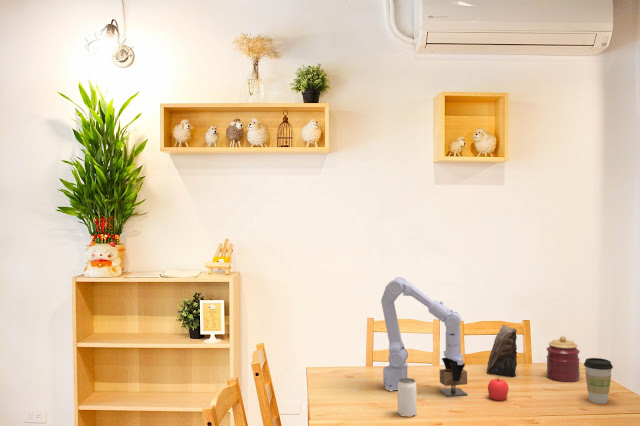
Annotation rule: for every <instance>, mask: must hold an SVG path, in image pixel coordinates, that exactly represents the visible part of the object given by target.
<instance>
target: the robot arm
mask: <svg viewBox="0 0 640 426" xmlns="http://www.w3.org/2000/svg"><path fill="white" fill-rule="evenodd" d="M400 295H402V296H405V297H406V296H409V297H412V298H413V299H414V300H416V301H418V302H419V303H421V304H423V305H424V307H427V308H428V313H430V314H431V315H433V316H434V317H435V318H436V319H437V320H439V321H441V322H443V323H444V326H445V350H444V351H443V357H442V358H441V361H442V362H443V365H444V369H452V373H453V380H454V381H459V380H460V376H461V372H462V370H463V369H464V368H465V366H466V363H464V359H463V357H464V356H465V354H462V352H461V351H462V350H461V349H462V348H461V347H462V345H461V343H462V342H461V341H462V340H461V337H462V336H461V323H462V318H461V315H460V314H459V313H458V312H456V311H454V310H453V309H452V308H451V309H450V308H448V307H447V306H446V305H445V304H444V301H442V300H438V299H437V300H433V299H431V298H430V297H429V296H428V295H426V294H425V293H424V292H423V291H421V290H420V289H419V288H418V287H416V286H415V285H414V284H413V283H411V282H410V281H408V280H406V279H405V278H403V277H401V276H398V277H396V278H394V279H393V280H391V281H390V282H388V283H387V285H385V288H384V291H383V293H382V296H381V299H380V302H381V303H380V304H381V307H382V312H383V317H384V323H385V327H386V333H387V338H388V343H389V345H388V352H389V353H388V363H389V365H388V366H383V369H382V370H383V371H382V373H383V376H382V378H383V379H382V381H383V384H382V386H383V385H384V386H385V387H386V388H387V389H386V388H385V387H384V386H383V387H384V388H385V389H386V391H388V390H398V383H399V379H402V378H408V364H407V361H406V360H407V359H408V358H409V352H408V350H407V349H406V347H405V344H404V342H403V340H402V337H401V331H400V326H399V320H398V315H397V310H396V305H395V301H396V300H397V299H398V297H399V296H400Z"/></svg>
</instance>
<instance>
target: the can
mask: <svg viewBox="0 0 640 426" xmlns="http://www.w3.org/2000/svg"><path fill="white" fill-rule="evenodd" d="M398 413H399V414H400V415H404V416H413V415H415V416H417V383H416V380H415V379H414V378H412V377H411V378H410V377H407V378H402V379H399V383H398V391H397V414H398ZM399 414H398V415H399ZM400 415H399V416H400ZM413 417H414V416H413Z"/></svg>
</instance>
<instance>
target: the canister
mask: <svg viewBox="0 0 640 426" xmlns="http://www.w3.org/2000/svg"><path fill="white" fill-rule="evenodd" d="M546 351H547V355H546V376H547V378H548V379H551V380H552V381H556V382H557V381H558V382H565V383H566V382H567V383H573V382H577V381H579V380H580V376H581V375H580V374H581V373H580V361H581V360H580V357H579V354H580V353H581V352H580V350H579V349H578V344H577V343H575V342H574V341H573V340H568V339H567V337H566V336H564V335H560V337H559V339H552V341H550V342H548V347H547V348H546Z"/></svg>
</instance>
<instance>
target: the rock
mask: <svg viewBox="0 0 640 426" xmlns="http://www.w3.org/2000/svg"><path fill="white" fill-rule="evenodd" d="M517 331H518V330H517V329H516V328H513V327H510V326H507V325H506V324H502V325H501V328H500V329H499V331H498V333H497V335H496V336H495V339H494V342H493V345H492V347H491V348H492V349H491V351H490V354H489V357H488V362H487V367H486V375H493V376H500V377H506V378H515V377H516V376H517V374H516V370H517V367H518V366H517V365H518V364H517V363H518V362H517V358H518V355H517V353H518V352H517V349H518V348H517V339H518V337H517Z"/></svg>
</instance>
